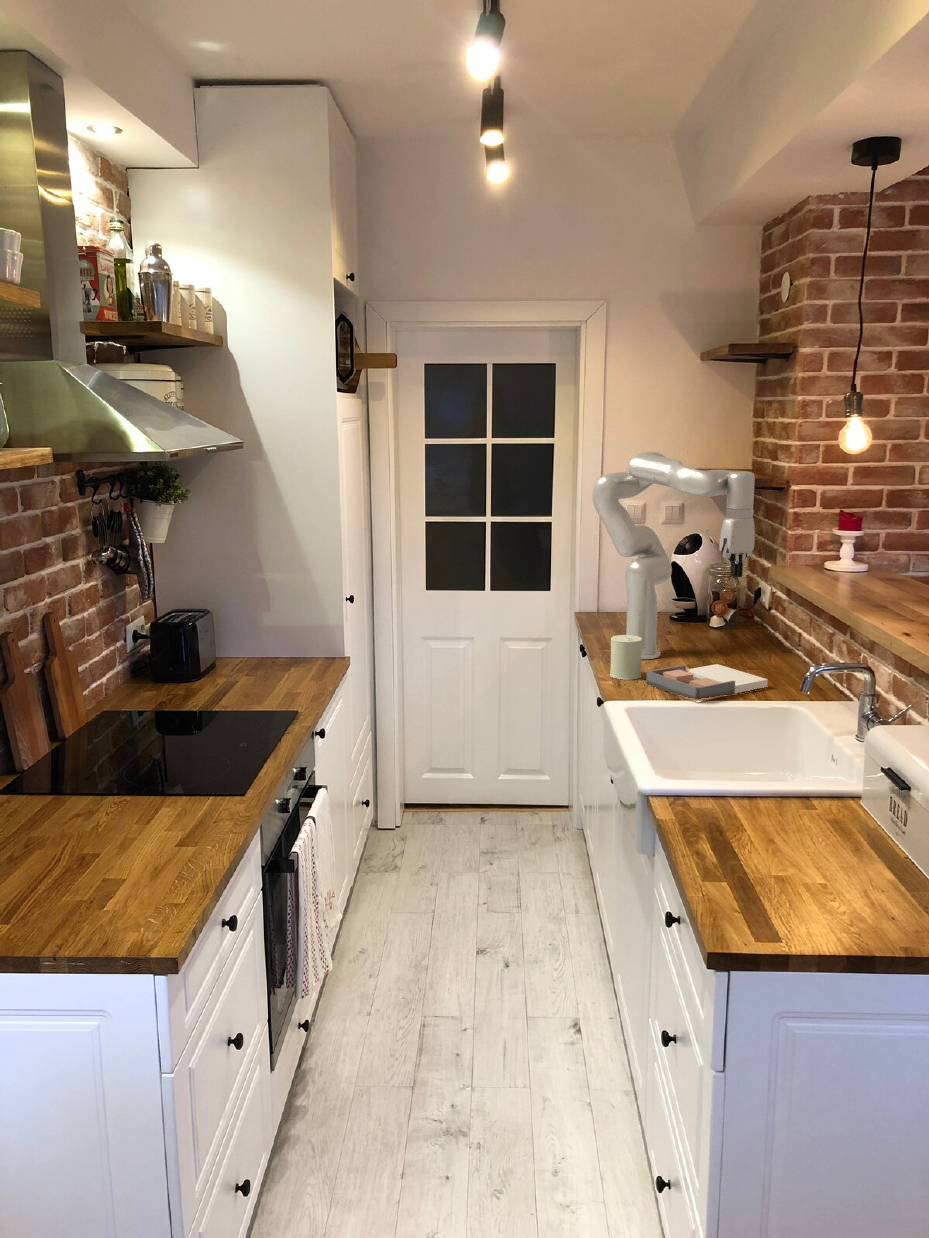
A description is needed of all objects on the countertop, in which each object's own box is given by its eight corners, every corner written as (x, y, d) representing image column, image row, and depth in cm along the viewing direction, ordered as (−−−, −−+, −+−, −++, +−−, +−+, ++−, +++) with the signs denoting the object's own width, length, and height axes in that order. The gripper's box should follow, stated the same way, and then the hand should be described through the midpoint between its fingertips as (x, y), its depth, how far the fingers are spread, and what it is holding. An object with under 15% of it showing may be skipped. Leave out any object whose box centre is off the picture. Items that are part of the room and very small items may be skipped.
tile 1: (662, 678, 280) (663, 672, 280) (679, 676, 283) (679, 669, 283) (676, 683, 275) (676, 676, 275) (693, 681, 278) (693, 674, 277)
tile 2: (689, 687, 271) (689, 680, 271) (706, 684, 274) (706, 678, 273) (703, 693, 266) (704, 686, 265) (720, 690, 268) (721, 683, 268)
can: (617, 681, 284) (618, 641, 281) (604, 673, 292) (605, 634, 290) (646, 678, 286) (647, 639, 284) (633, 670, 295) (634, 632, 292)
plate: (684, 678, 286) (684, 669, 286) (716, 672, 293) (717, 664, 292) (733, 694, 269) (734, 686, 269) (767, 687, 276) (767, 679, 275)
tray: (646, 684, 280) (646, 671, 279) (683, 677, 286) (683, 664, 286) (696, 702, 262) (697, 688, 261) (734, 695, 269) (735, 681, 268)
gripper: (748, 511, 290) (745, 572, 293) (711, 514, 282) (708, 577, 286) (767, 513, 283) (764, 576, 287) (729, 517, 276) (726, 580, 280)
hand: (736, 576), depth 287 cm, fingers closed
